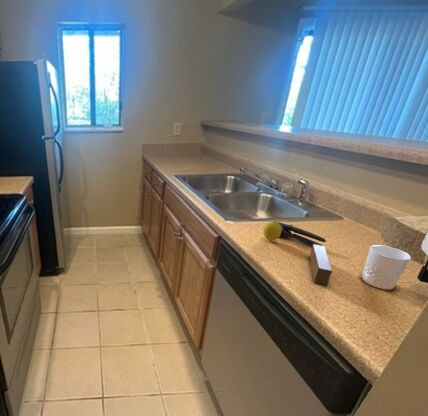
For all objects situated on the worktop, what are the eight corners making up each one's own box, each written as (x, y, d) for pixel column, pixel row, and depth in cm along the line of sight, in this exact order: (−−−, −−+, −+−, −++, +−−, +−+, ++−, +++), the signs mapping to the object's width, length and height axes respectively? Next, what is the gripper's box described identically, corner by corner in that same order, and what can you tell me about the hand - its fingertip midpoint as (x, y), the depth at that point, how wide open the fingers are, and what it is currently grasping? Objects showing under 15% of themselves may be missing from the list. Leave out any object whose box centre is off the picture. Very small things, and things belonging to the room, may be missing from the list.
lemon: (268, 236, 106) (272, 217, 103) (282, 242, 101) (287, 222, 98) (258, 239, 104) (262, 219, 101) (271, 245, 99) (276, 225, 96)
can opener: (265, 234, 107) (268, 221, 105) (273, 229, 111) (276, 217, 109) (320, 252, 94) (324, 237, 92) (326, 245, 98) (331, 231, 96)
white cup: (399, 295, 73) (414, 262, 70) (360, 284, 78) (372, 253, 74) (394, 280, 79) (407, 250, 76) (357, 271, 84) (368, 242, 80)
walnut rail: (320, 259, 90) (324, 246, 88) (327, 286, 77) (332, 271, 76) (309, 257, 92) (313, 244, 90) (314, 282, 79) (318, 268, 77)
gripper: (503, 234, 58) (462, 303, 65) (464, 211, 70) (433, 271, 77) (451, 226, 62) (417, 292, 69) (423, 206, 74) (397, 264, 81)
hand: (426, 281), depth 73 cm, fingers closed
